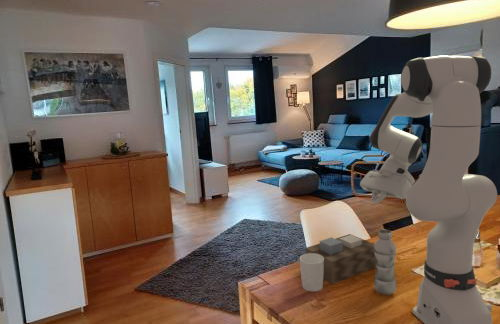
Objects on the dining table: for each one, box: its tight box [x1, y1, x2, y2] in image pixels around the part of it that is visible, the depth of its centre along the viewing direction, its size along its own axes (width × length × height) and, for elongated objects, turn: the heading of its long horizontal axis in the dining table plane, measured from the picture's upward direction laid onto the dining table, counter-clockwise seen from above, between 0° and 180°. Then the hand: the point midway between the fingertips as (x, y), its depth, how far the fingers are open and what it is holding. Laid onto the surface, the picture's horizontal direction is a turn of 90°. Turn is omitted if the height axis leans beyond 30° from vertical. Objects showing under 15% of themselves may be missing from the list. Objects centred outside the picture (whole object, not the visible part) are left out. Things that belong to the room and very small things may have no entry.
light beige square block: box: [340, 234, 363, 249], centre depth 132 cm, size 6×6×4 cm
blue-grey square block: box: [319, 237, 343, 255], centre depth 128 cm, size 6×6×4 cm
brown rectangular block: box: [305, 233, 376, 285], centre depth 131 cm, size 22×14×8 cm, turn 120°
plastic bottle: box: [373, 229, 397, 296], centre depth 112 cm, size 6×7×20 cm
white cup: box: [299, 253, 324, 292], centre depth 119 cm, size 8×8×10 cm
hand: (374, 202), depth 136 cm, fingers closed
